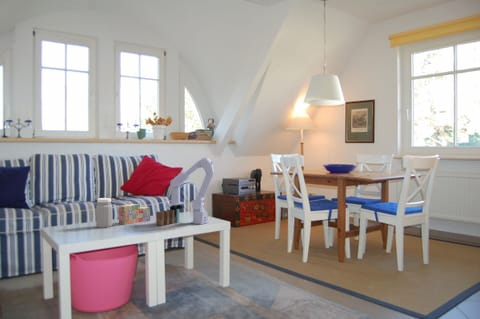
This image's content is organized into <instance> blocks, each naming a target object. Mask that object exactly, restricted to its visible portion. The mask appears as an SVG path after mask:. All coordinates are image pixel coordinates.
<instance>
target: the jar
mask: <svg viewBox="0 0 480 319" xmlns="http://www.w3.org/2000/svg"><path fill="white" fill-rule="evenodd" d="M95 211H96V213H95V217H96V218H95V222H96V225H95V226H96V227H97V228H98V229H107V228H108V227H109V228H112V226H113V223H114V222H113V205H112V198H111V197H100V198H97V204H96V206H95Z"/></svg>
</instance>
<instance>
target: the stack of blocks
mask: <svg viewBox="0 0 480 319" xmlns="http://www.w3.org/2000/svg"><path fill="white" fill-rule="evenodd" d="M148 221H151V207H149V206H140V204H139V203H131V204H130V203H129V204H124V205H118V225H122V226H126V225H133V224H138V223H143V222H144V223H145V222H148Z"/></svg>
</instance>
